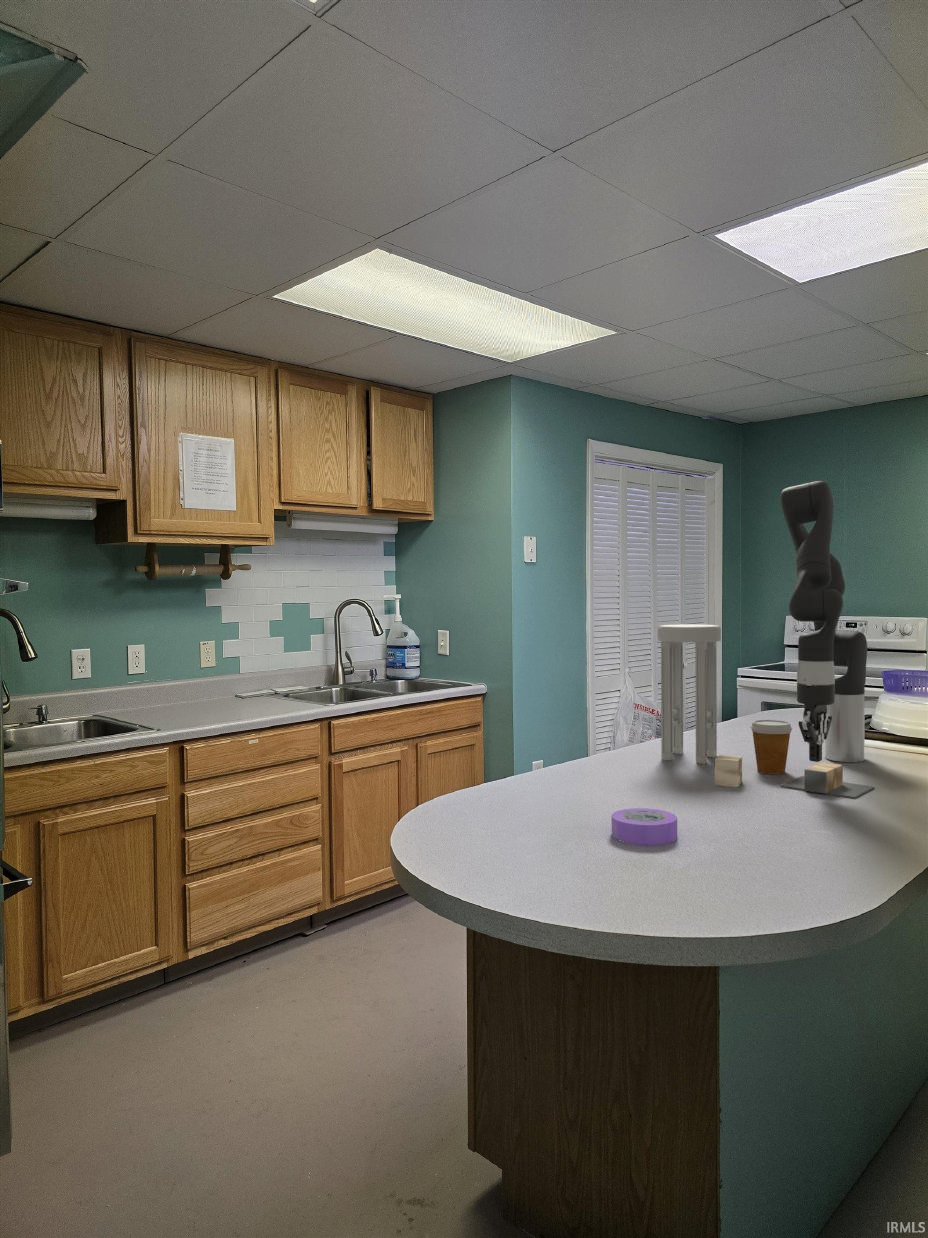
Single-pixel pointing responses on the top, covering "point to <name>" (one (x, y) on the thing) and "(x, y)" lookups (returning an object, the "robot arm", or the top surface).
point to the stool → (673, 688)
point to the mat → (843, 790)
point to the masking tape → (644, 826)
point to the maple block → (728, 770)
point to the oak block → (823, 777)
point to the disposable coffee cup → (771, 745)
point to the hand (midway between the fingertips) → (815, 761)
